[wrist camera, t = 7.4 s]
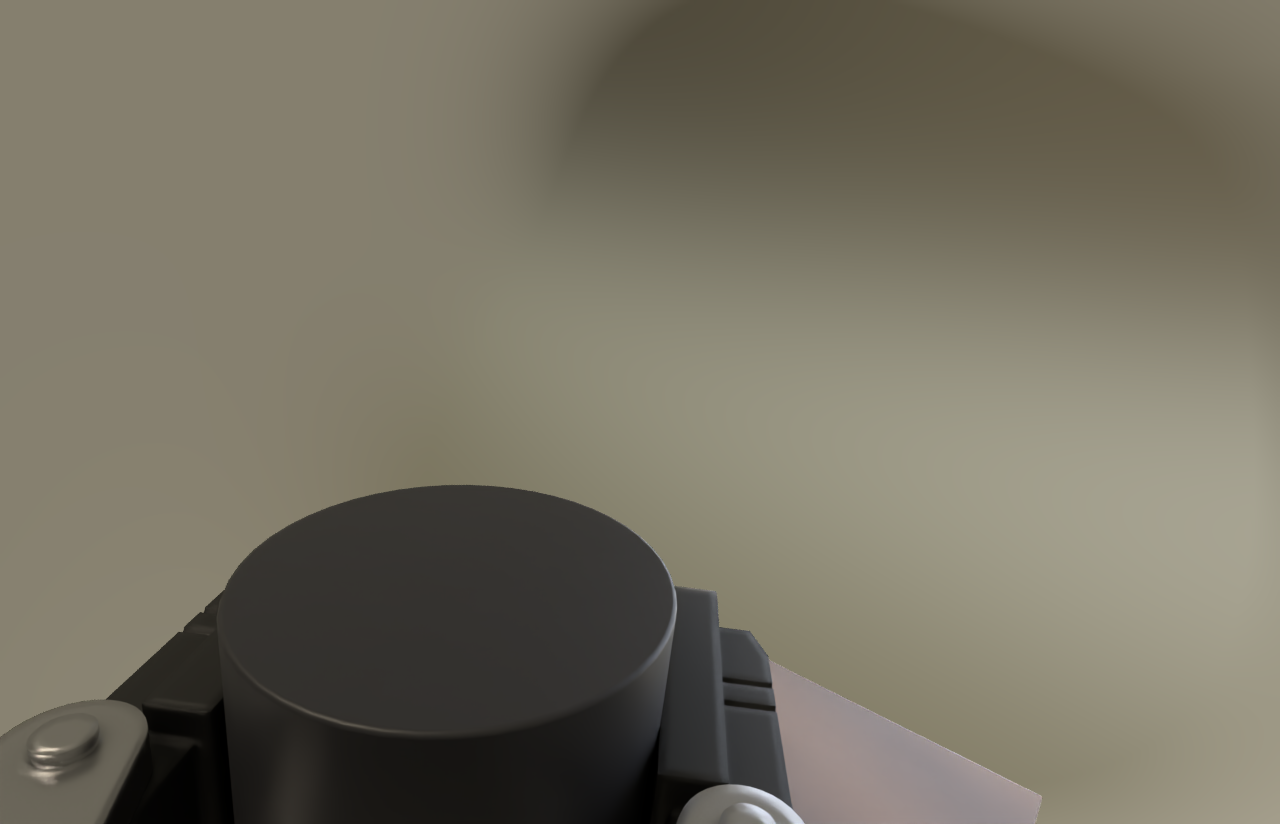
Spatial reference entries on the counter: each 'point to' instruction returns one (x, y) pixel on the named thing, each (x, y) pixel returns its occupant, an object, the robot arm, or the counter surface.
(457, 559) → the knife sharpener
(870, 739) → the cabinet
